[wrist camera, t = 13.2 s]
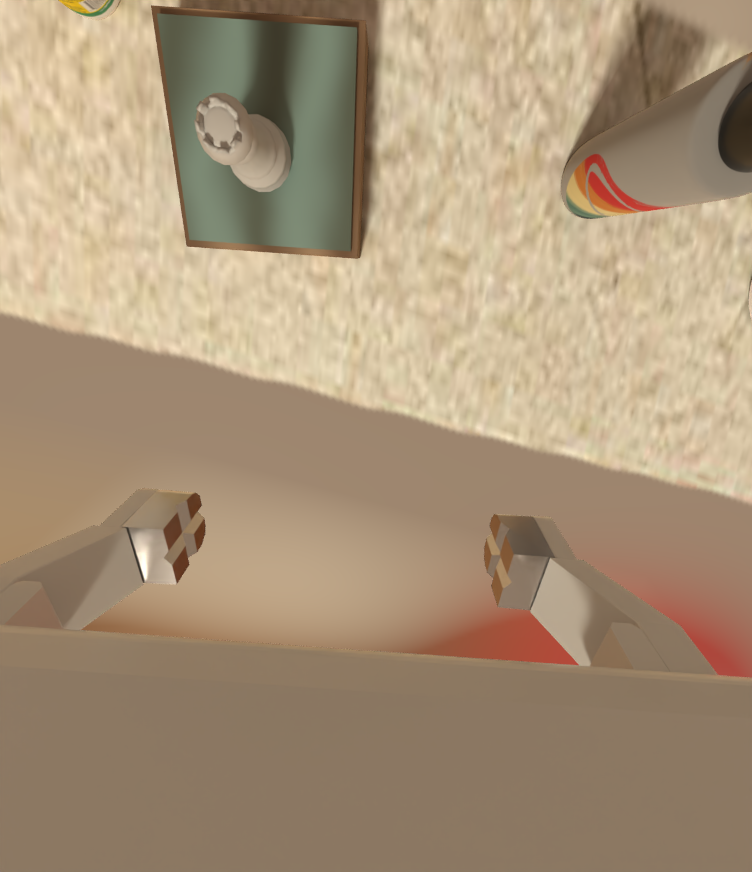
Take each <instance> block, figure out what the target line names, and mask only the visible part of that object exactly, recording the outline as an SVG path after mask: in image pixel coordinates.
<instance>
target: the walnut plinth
mask: <svg viewBox="0 0 752 872" xmlns="http://www.w3.org/2000/svg"><path fill="white" fill-rule="evenodd" d="M151 8H152V15H153V22H154V29H155V35H156V42H157V49H158V56H159V62H160V69H161V76H162V83H163V89H164V96H165V103H166V110H167V116H168V123H169V130H170V137H171V144H172V150H173V157H174V164H175V171H176V177H177V184H178V191H179V198H180V204H181V211H182V218H183V225H184V231H185V238H186V245H187V246H188V247H202V248H216V249H230V250H244V251H258V252H272V253H286V254H300V255H314V256H328V257H342V258H356V259H357V258H360V247H361V222H362V197H363V172H364V147H365V122H366V97H367V72H368V38H367V29H366V21H364V20H350V19H336V18H321V17H307V16H293V15H279V14H264V13H250V12H236V11H222V10H207V9H193V8H179V7H164V6H151ZM213 93H226V94H228V95H230V96H232V97H234V98H236V99H237V100H238V101H239V102H240V103H241V104H242V105H243V107H244V108H245V109H246V111H247V113H248V114H259V115H261V116H263V117H265V118H267V119H269V120H270V121H271V122H273V123H275V124H276V125H277V127H278V128H279V129H280V130H281V131H282V132H283V133H284V135H285V138H286V140H287V142H288V145H289V147H290V155H291V166H290V170H289V174H288V177H287V178H286V180H285V181H284V182H283V184H282V185H281V186H280V187H278V188H277V189H275V190H273V191H271V192H258V191H256V190H254V189H251V188H249V187H247V186H246V185H245V184H243V183H242V182H241V181H240V179H239V178H238V177H237V176H236V175H235V174H234V172H233V170H232V168H231V166H230V165H223V164H221V163H219V162H217V161H215V160H213V159H212V158H211V157H210V156H209V155H208V154H207V153H206V152H205V151H204V149H203V147H202V145H201V143H200V141H199V139H198V136H197V132H196V128H195V123H194V120H196V115H197V110H196V107H197V105H198V104H199V102H200V100H201V101H203V99H205V98H206V97H208V95H211V94H213Z"/></svg>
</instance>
